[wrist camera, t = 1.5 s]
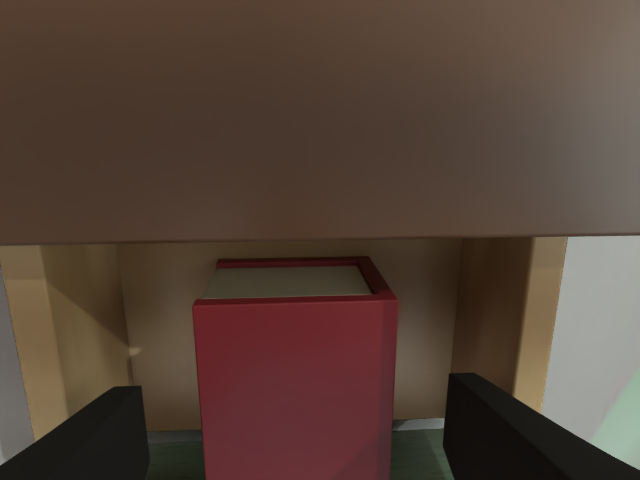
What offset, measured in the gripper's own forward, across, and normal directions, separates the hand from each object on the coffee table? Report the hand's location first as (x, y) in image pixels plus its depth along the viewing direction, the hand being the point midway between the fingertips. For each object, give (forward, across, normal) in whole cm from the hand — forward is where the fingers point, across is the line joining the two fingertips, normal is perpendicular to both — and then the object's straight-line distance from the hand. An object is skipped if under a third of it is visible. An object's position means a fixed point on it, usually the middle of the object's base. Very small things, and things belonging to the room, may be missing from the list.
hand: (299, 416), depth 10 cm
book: (+3, 0, 0) cm, 3 cm away
